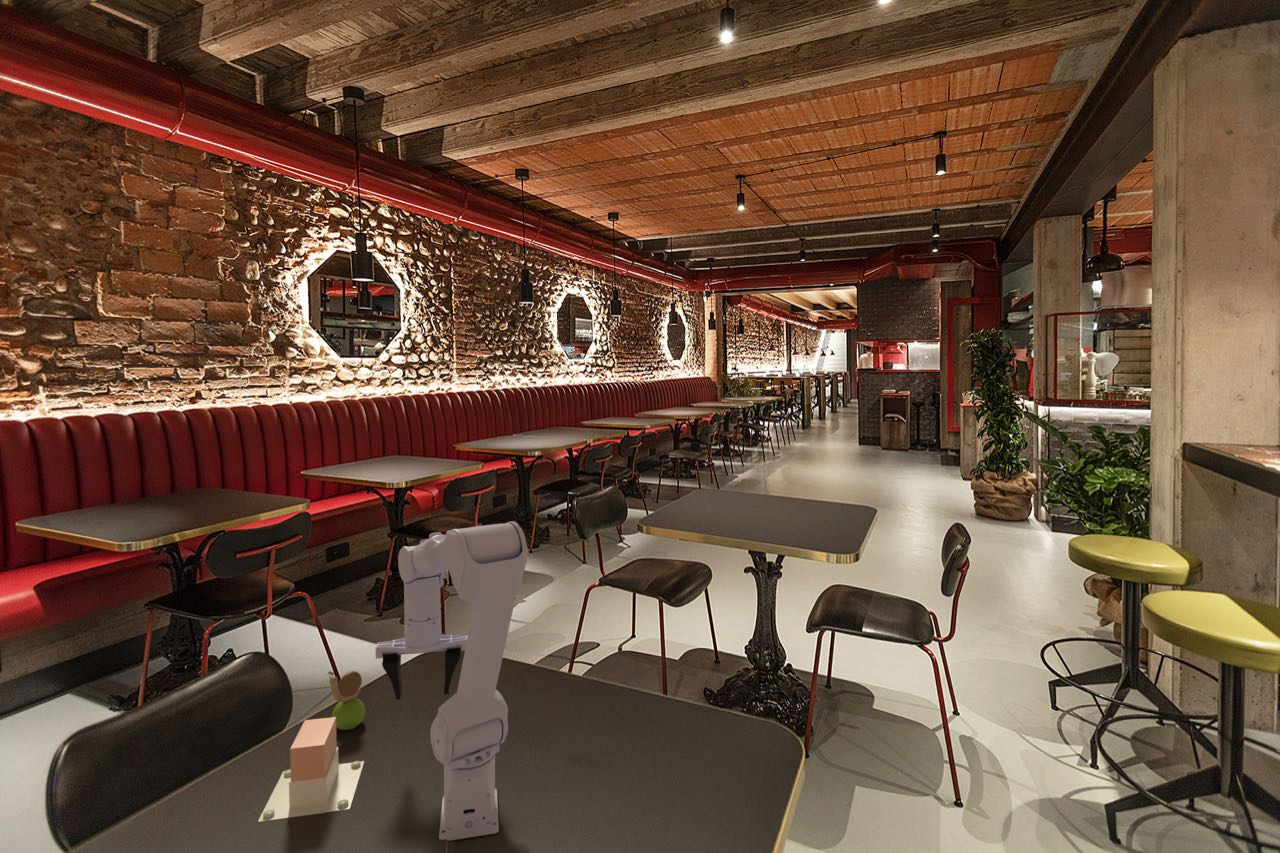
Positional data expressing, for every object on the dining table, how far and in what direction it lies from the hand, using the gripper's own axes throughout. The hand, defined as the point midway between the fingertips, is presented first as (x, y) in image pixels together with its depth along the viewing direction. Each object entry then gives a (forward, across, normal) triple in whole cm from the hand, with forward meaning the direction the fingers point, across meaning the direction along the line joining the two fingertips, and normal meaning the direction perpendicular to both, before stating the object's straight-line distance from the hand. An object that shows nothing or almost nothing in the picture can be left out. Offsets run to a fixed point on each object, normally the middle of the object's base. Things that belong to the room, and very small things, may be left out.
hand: (422, 694), depth 105 cm
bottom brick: (+10, +15, +7) cm, 19 cm away
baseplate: (+10, +15, +7) cm, 20 cm away
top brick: (+6, +15, +7) cm, 18 cm away
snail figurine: (+11, +14, -11) cm, 21 cm away
